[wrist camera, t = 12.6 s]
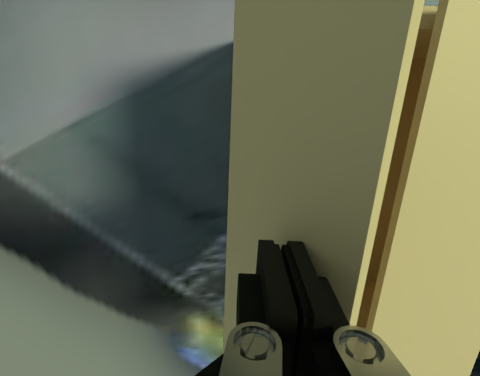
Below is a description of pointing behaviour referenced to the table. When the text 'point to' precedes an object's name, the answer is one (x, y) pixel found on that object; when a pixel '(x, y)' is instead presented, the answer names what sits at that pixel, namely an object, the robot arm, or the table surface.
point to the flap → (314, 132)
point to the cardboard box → (397, 157)
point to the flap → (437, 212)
